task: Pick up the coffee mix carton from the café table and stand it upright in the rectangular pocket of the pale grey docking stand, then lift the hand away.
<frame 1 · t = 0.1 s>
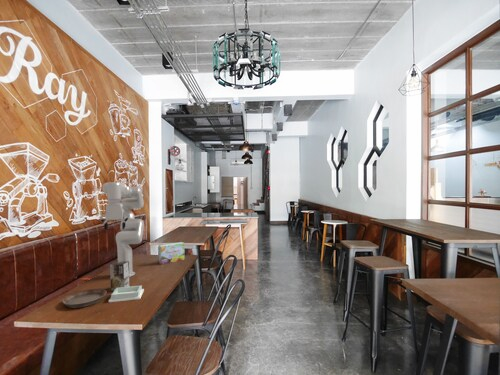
hand: (115, 229, 169), 37 cm above the table, tool pointing down, fingers open, 9 cm apart
snack box: (171, 262, 226), on the table
plant saucer: (85, 302, 149), on the table
docking stand: (127, 296, 154), on the table
coffee box: (120, 289, 166), on the table
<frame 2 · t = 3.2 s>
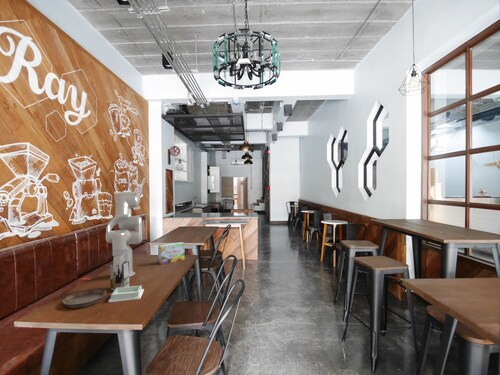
hand: (120, 280, 166), 5 cm above the table, tool pointing down, fingers closed on coffee box, 7 cm apart
coffee box: (120, 289, 166), on the table, touching gripper
everything else where it was.
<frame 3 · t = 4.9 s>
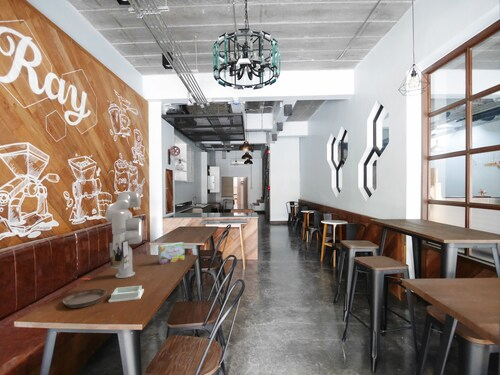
hand: (119, 258, 167), 18 cm above the table, tool pointing down, fingers closed on coffee box, 7 cm apart
coffee box: (120, 267, 167), point 13 cm above the table, touching gripper
everything else where it was.
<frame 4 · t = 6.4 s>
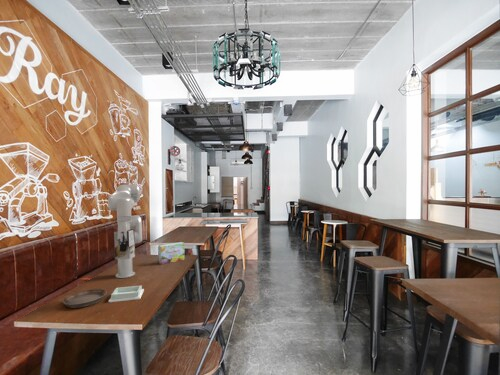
hand: (125, 249, 156), 26 cm above the table, tool pointing down, fingers closed on coffee box, 7 cm apart
coffee box: (125, 258, 156), point 21 cm above the table, touching gripper
everything else where it was.
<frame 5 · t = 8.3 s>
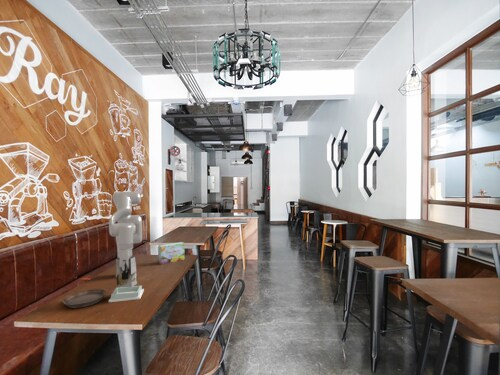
hand: (126, 276, 154), 11 cm above the table, tool pointing down, fingers closed on coffee box, 7 cm apart
coffee box: (127, 285, 154), point 6 cm above the table, touching gripper
everything else where it was.
when the fingers open (7 cm above the table, at t = 9.7 s): coffee box drops 1 cm, resting on docking stand.
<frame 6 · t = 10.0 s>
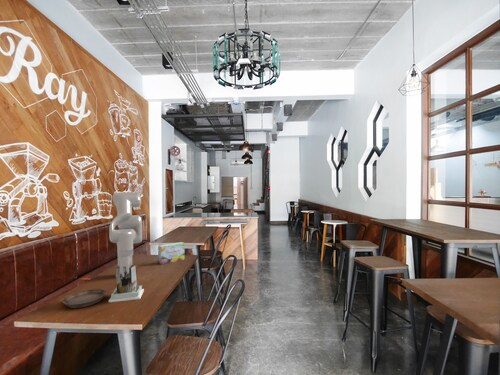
hand: (126, 282, 154), 8 cm above the table, tool pointing down, fingers open, 9 cm apart
coffee box: (127, 294, 155), point 1 cm above the table, touching docking stand
everything else where it was.
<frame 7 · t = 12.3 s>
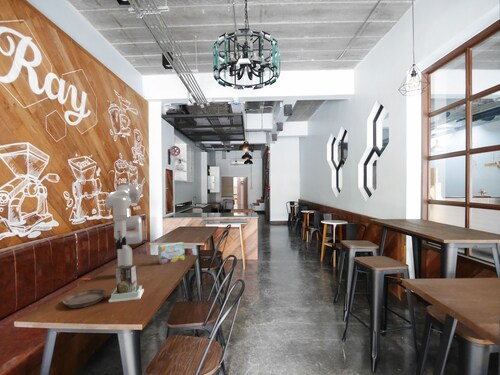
hand: (121, 247, 158), 27 cm above the table, tool pointing down, fingers open, 9 cm apart
nothing on the table moved.
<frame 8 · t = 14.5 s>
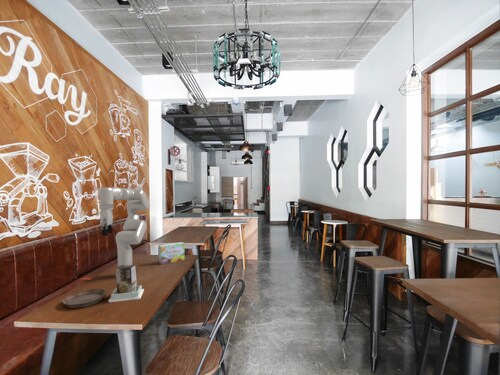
hand: (107, 234, 170), 33 cm above the table, tool pointing down, fingers open, 9 cm apart
nothing on the table moved.
at the end: coffee box 0.3 cm off-centre on the docking stand, point 0.8 cm above the docking stand's base; coffee box tilted 0°; the gripper is holding nothing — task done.
